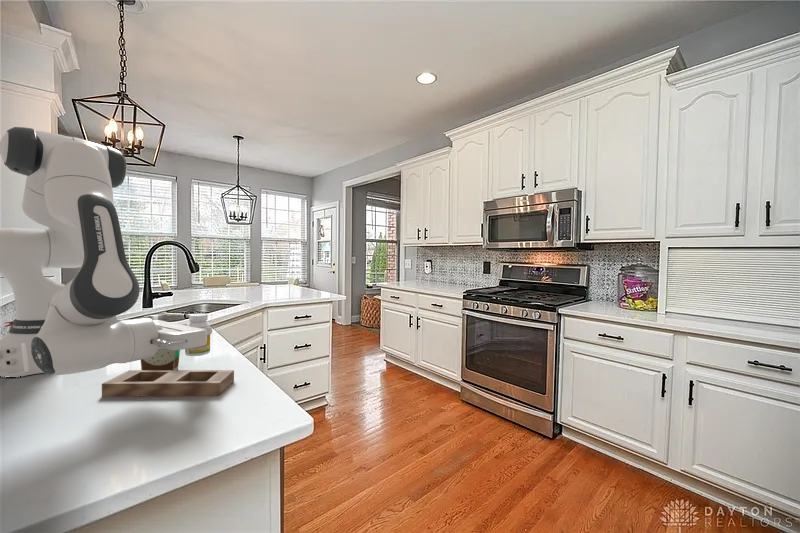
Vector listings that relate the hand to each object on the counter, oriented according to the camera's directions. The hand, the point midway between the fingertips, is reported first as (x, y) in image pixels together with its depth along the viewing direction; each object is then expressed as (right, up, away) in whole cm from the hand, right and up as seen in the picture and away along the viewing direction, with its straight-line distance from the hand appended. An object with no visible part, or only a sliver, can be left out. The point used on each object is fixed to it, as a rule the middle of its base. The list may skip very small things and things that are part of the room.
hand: (201, 328), depth 88 cm
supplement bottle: (-1, -6, -1) cm, 6 cm away
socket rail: (-7, -15, -1) cm, 16 cm away
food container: (-17, -14, +12) cm, 25 cm away
